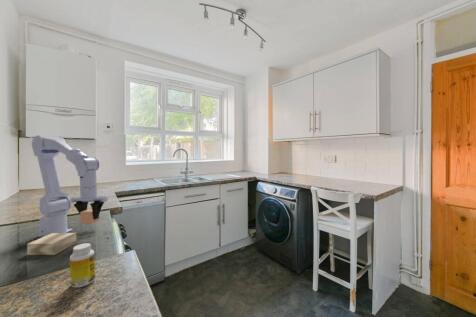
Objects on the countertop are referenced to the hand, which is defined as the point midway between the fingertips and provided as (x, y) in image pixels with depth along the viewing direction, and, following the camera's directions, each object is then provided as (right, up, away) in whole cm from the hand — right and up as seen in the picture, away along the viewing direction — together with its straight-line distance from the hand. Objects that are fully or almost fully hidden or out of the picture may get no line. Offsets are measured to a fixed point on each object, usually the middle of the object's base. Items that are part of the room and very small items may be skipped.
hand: (90, 218), depth 90 cm
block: (0, -1, 0) cm, 1 cm away
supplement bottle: (+19, -9, -30) cm, 37 cm away
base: (-8, -9, -8) cm, 15 cm away
